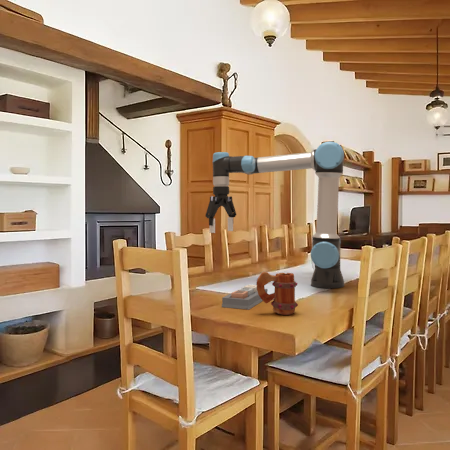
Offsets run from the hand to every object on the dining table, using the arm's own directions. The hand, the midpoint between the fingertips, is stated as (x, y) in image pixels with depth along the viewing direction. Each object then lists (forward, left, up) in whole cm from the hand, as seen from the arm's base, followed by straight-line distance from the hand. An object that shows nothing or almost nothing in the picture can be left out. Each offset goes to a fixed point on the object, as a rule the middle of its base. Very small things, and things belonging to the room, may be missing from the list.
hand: (221, 231), depth 213 cm
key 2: (-22, +27, -23) cm, 42 cm away
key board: (-22, +27, -26) cm, 43 cm away
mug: (-39, +40, -26) cm, 61 cm away
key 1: (-22, +20, -23) cm, 38 cm away
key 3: (-22, +33, -23) cm, 46 cm away
